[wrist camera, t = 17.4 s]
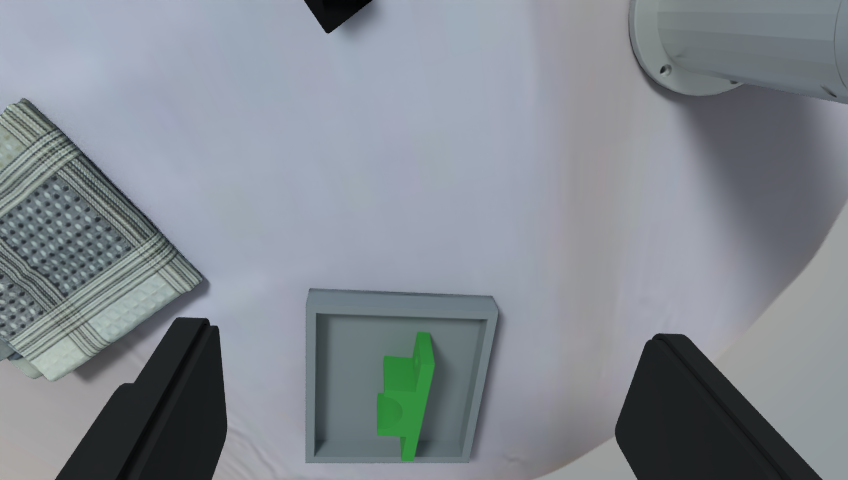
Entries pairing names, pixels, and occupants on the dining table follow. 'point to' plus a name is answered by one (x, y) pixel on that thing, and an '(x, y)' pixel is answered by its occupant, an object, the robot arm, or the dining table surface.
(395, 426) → the pipe clamp
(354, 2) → the black block
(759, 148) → the dining table surface
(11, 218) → the dish towel
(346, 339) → the tray
